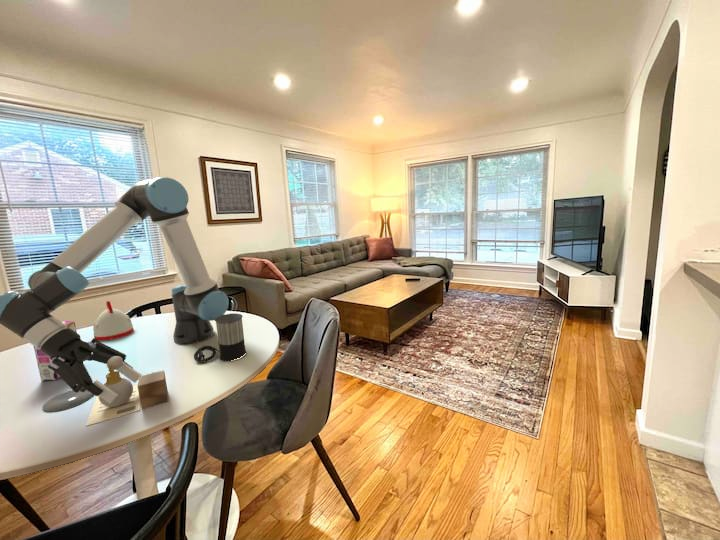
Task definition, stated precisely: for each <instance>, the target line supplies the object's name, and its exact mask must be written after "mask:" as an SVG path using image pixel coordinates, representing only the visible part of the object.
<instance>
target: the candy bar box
mask: <svg viewBox="0 0 720 540" xmlns="http://www.w3.org/2000/svg"><path fill="white" fill-rule="evenodd" d="M61 322H62V323H64V324H65V325H66V326H67V328H70V329H72V330H73V331H75V332H76V333H77V327H76V321H74V320H73V321H72V320H70V321H68V320H67V321H61ZM77 334H78V333H77ZM33 349H34V354H35V358H36V362H37V368H38V373H39V376H40V381H41V382H47V381H50V382H51V381H57V380H59V379H60V378H61V377H60V376H59V375H58V374H57V373H56V372H55V371H53V370H52V369H50V368H48V366H49V364H50V363H51V362H52V361H53V360H54V359H55V358H51V357H49V356H48V355H46V354H45V353H43V352H42V351H41V348H36V347H35V346H33ZM66 364H67V363H66ZM67 365H68V364H67ZM61 379H62V378H61Z"/></svg>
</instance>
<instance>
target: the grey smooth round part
mask: <svg viewBox="0 0 720 540" xmlns="http://www.w3.org/2000/svg"><path fill="white" fill-rule="evenodd" d="M93 396H94V395H93V394H92V393H90V392H89V391H87V390H86V391H85V392H81V391H79V392H74V391H73V390H72V389H70V390H68V391H65V392H63V393H60V394H58V395H55V396H53V397H50V399H48V400H47V401H46V402H45V403H43V404H42V411H44V412H46V413H53V412H61V411H65V410H68V409H72V408H74V407H76V406H79V405H82V404H83V403H85V402H86V401H88V400H89V399H91V398H92V397H93Z"/></svg>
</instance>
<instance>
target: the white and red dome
mask: <svg viewBox="0 0 720 540" xmlns="http://www.w3.org/2000/svg"><path fill="white" fill-rule="evenodd" d="M106 307H107V308H106V309H105V310H103V311H102V312H101V313H100V315H99V316H98V317H97V319H96V321H93V328H92V329H93V330H92V331H93V338H96V339H97V340H99V341H109V340H115V339H119V338H122V337H125V336H128V335H130V334H132V333H133V332H134V325H133V323H132V319H131V318H130V316H129V315H128V314H126V313H124V312H123V311H122V310H120V309H118V308H114V307H113V308H112V305H111V301H109V300H108V301H106Z"/></svg>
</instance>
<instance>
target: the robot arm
mask: <svg viewBox="0 0 720 540" xmlns="http://www.w3.org/2000/svg"><path fill="white" fill-rule="evenodd" d="M189 200H190V199H189V194H188V191H187V190H186V188H185V187H184V185H183V184H182V183H180V182H179V181H178V180H176V179H173V178H172V177H165V176H164V177H162V176H159V177H154V178H149V179H144V180H141V181H138V182H136V183H134V184H133V185H132V186H131V187H130V188H129V189H128V190H127V191H125V193H123V194H122V196H120V197H119V198H118V199H117V200H116V201H115V202H114V207H113V208H112V209H111V210H110V211H108V212H107V213H106V214H105V215H104V216H102V217H101V218H100V219H99V220H98V221H97V222H96V223H95V224H93V225H92V226H91V227H90V228H88V229H87V230H86V231H85V232H84V233H83V234H82V235H80V236H79V237H78V238H77V239H75V241H73V242H72V243H71V244H70V245H69V246H67V247H66V248H65V249H64V250H63V251H61V252H60V253H59V254H58V255H57V256H55V258H53V259H52V260H51V261H50V262H49V263H47V264H46V266H44V267H43V268H42V269H41V270H40V269H39V270H37V271H35V272H33V273H31V274H30V275H29V277H28V279H27V285H28V287H29V290H27V291H25V292H23V293H22V292H19V291H16V290H11V291H8V292H7V291H6V292H5V293H4V294H0V325H2V326H3V327H5V328H7V329H8V330H9V331H11V332H12V333H13V334H16V335H17V336H18V337H19V338H21V339H23V340H24V341H25V342H28V343H29V344H30V345H32V346H33V347H34V346H35V347H36V348H41V351H42V352H43V353H45V354H46V355H48V356H49V357H51V358H55V359H54V360H53V361H52V362H51V363H50V364H49V366H48V368H50V369H52V370H53V371H55V372H56V373H57V374H58V375H59V376H60V377H61V379H62V380H63V381H64V382H65V384H67V386H68V387H69V388H70V390H73V391H74V392H79V391H81V392H85V391H86V390H87V391H89V392H90V393H92V394H93V396H95V397H97V396H99V397H101V398H102V399H104V400H105V401H107V402H108V403H112V402H113V400H114V399H115V398H116V397H117V396H118V394H116V393H115V392H113V391H112V390H111V389H109V388H108V387H106V386H105V385H104V383H102V382H100V381H99V380H97V379H96V380H94V381H93V379H92V377H91V375H90V373H89V371H88V369H87V368H86V366H85V364H84V362H86V361H89V362H91V361H95V362H98V363H101V364H105V365H107V362H108V360H109V359H110V358H111V357H113V356H120V357H121V358H122V359H123V364H122V365H121V367H120V368H118V369H116V370H115V371H118V372H119V374H121V375H123V376H124V377H126V379H127V378H128V380H129V381H130V382H133V383H134V384H135V383H138V380H139V376H143V374H141V373H140V372H138V371H137V370H135V369H134V367H133V366H132V365H130V364H129V363H128V362H126V359H127V355H126V354H125V353H123V352H122V351H119V350H117V349H115V348H113V347H111V346H109V345H106V344H105V343H102V342H101V340H97V339H96V338H94V337H93V338H92V339H91V340H90V341H88V342H87V341H83V339H81V335H80V334H79V333H76V332H75V331H73V330H72V329H70V328H67V326H66V325H65V324H64V323H62V322H63V321H61V320H59V319H58V318H56V317H55V316H53V315H52V314H51V313H52V312H54V311H56V310H57V309H58V308H59V307H61V306H62V305H64V304H66V303H67V302H69V300H71V299H73V298H74V297H75V296H77V295H78V294H81V292H83V290H85V289H86V288H87V287H88V286H89V285H90V281H89V279H87V278H86V276H84V275H83V274H82V273H83V272H84V271H85V270H86V269H88V267H90V266H91V265H92V264H93V262H95V261H96V259H98V258H99V257H100V256H101V255H102V254H103V253H104V252H105V251H107V249H109V248H110V247H111V246H112V245H113V244H114V243H115V242H117V240H119V239H120V238H121V237H122V236H123V235H124V234H125V233H126V232H127V231H128V230H129V229H131V228H132V227H133V226H135V224H137V223H138V224H139V223H140V224H141V223H142V222H143V221H144V220H146V219H147V218H148V217H150V220H151V222H152V223H153V224H155V225H158V226H159V227H160V230H161V232H162V234H163V236H164V239H165V242H166V243H167V246H168V248H169V251H170V252H171V253H170V254H171V255H172V258H173V259H174V262H175V264H176V266H177V268H178V271H179V274H180V276H181V278H182V280H183V282H184V284H179V285H175V286H173V287H172V288H171V298H172V305H173V311H174V317H175V327H174V331H173V336H172V337H173V341H174V343H176V344H179V343H182V345H183V343H188V344H193V342H195V343H198V342H197V341H199V342H202V341H205V340H207V339H206V338H208V337H210V336H211V335H212V334H213V333H214V334H215V330H214V327H213V325H212V323H211V322H212V321H215V319H216V318H217V317H219V316H221V315H225V314H226V312H227V309H228V308H229V297H228V295H227V294H226V293H225V292H224V291H221V290H220V289H219V287H218V284H217V281H216V280H214V279H211V278H210V275H209V273H208V270H207V267H206V265H205V263H204V260H203V258H202V254H201V252H200V250H199V247H198V245H197V243H196V240H195V237H194V234H193V232H192V230H191V228H190V225H189V222H188V220H187V218H188V216H189V214H190V212H189V209H188V207H187V206H188V203H189ZM214 334H213V335H214ZM213 335H212V336H213ZM212 336H211V337H212ZM211 337H210V338H211ZM204 339H205V340H204ZM208 339H209V338H208ZM201 340H202V341H201ZM66 363H67V364H68V365H67V364H66Z"/></svg>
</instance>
